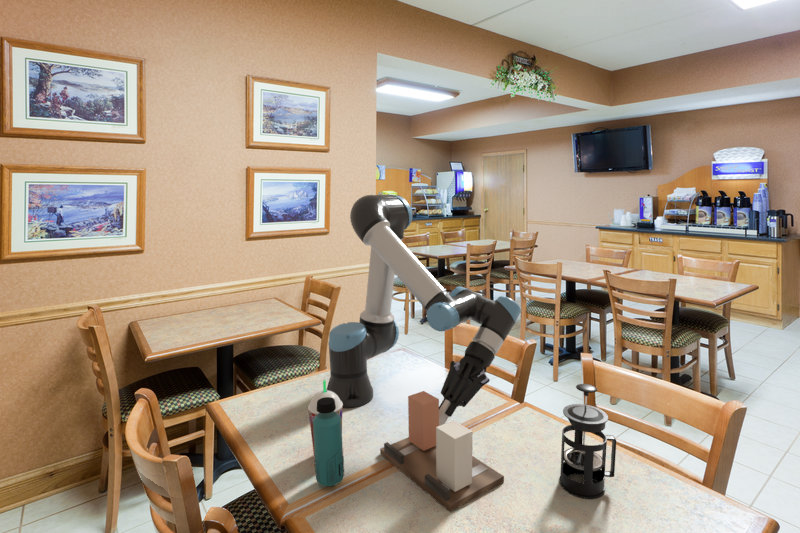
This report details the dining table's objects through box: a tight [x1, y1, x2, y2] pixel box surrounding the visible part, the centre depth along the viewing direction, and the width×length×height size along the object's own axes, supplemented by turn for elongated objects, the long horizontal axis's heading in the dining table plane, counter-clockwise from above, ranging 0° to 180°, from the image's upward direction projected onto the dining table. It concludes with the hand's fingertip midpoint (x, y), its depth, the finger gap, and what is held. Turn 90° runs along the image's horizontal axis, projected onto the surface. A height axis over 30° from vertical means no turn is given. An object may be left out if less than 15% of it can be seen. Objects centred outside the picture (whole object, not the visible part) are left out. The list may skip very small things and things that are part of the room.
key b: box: [407, 390, 440, 451], centre depth 112 cm, size 5×6×12 cm
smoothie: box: [307, 379, 344, 457], centre depth 109 cm, size 8×8×20 cm
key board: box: [379, 436, 505, 513], centre depth 106 cm, size 16×26×4 cm, turn 35°
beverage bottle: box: [312, 397, 345, 487], centre depth 99 cm, size 6×7×20 cm
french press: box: [558, 383, 617, 500], centre depth 97 cm, size 12×9×23 cm
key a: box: [436, 420, 473, 492], centre depth 97 cm, size 5×6×12 cm
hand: (437, 424), depth 114 cm, fingers closed
